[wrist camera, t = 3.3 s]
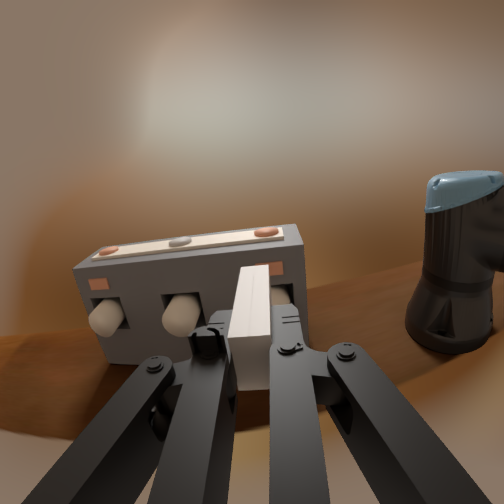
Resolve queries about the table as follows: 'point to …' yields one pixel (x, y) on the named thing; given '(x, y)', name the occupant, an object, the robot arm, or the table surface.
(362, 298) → the table surface
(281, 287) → the button
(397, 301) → the table surface
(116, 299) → the button
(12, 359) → the table surface
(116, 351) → the button panel
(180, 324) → the button middle
